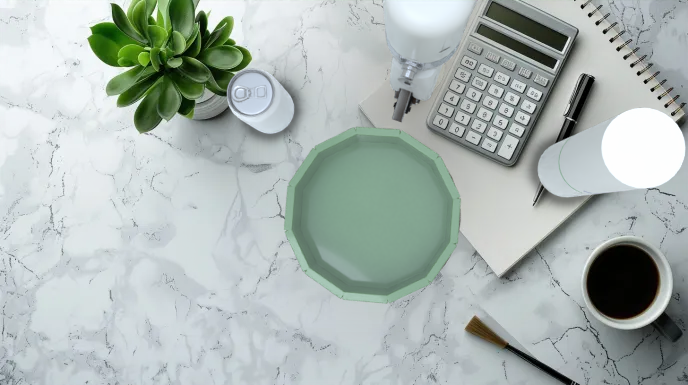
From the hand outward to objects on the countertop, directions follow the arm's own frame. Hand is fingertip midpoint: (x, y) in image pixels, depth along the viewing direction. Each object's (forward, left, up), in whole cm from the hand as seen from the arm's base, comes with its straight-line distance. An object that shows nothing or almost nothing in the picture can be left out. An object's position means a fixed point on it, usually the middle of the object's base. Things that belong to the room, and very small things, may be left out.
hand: (418, 67), depth 78 cm
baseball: (0, 0, -3) cm, 3 cm away
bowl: (+13, +15, +20) cm, 28 cm away
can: (+20, -4, -4) cm, 20 cm away
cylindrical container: (-11, +20, -4) cm, 23 cm away
